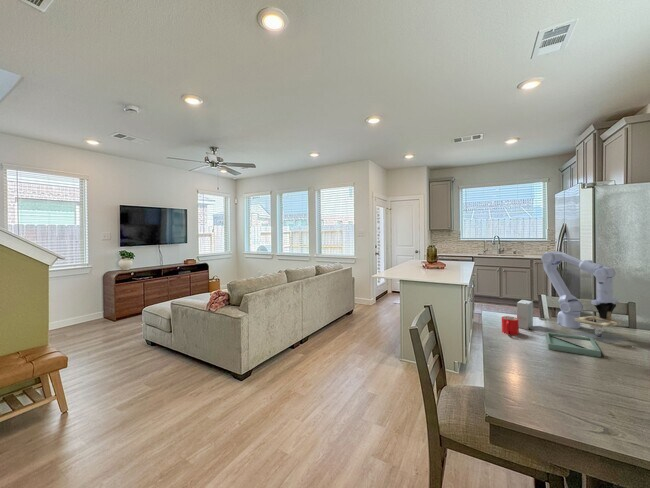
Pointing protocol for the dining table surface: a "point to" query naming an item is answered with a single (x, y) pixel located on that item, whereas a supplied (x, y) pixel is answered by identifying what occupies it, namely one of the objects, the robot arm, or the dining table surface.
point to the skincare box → (525, 313)
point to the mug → (510, 325)
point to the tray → (571, 345)
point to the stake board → (605, 336)
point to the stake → (598, 331)
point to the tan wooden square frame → (607, 321)
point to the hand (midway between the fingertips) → (605, 317)
